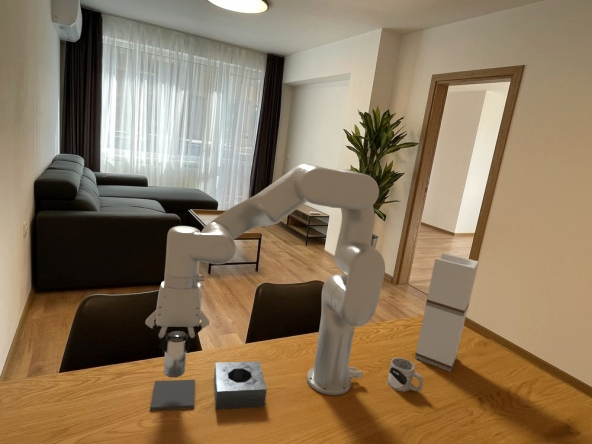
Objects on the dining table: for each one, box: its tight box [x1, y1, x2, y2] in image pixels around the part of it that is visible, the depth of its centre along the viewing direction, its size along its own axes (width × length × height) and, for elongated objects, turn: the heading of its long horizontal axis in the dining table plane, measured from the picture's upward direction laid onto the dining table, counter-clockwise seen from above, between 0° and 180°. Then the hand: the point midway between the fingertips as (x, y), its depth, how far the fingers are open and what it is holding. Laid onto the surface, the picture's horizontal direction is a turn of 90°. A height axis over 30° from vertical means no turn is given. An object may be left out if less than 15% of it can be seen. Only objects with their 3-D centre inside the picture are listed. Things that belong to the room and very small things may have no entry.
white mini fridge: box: [414, 252, 479, 373], centre depth 125 cm, size 11×11×35 cm
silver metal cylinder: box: [163, 330, 188, 378], centre depth 92 cm, size 5×5×10 cm
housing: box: [213, 361, 268, 411], centre depth 98 cm, size 12×12×5 cm
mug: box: [387, 357, 424, 393], centre depth 110 cm, size 10×7×7 cm
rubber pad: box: [149, 379, 196, 411], centre depth 95 cm, size 10×10×1 cm
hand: (176, 349), depth 92 cm, fingers closed on silver metal cylinder, 5 cm apart
